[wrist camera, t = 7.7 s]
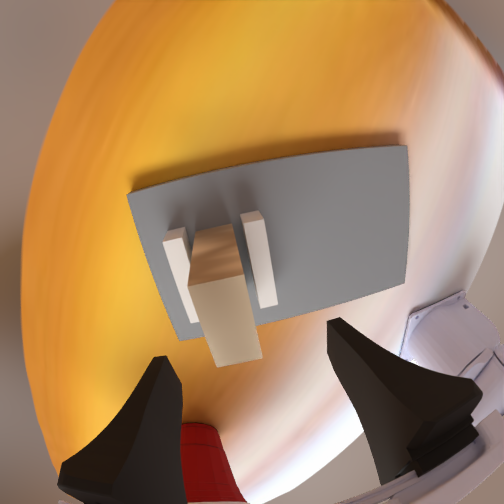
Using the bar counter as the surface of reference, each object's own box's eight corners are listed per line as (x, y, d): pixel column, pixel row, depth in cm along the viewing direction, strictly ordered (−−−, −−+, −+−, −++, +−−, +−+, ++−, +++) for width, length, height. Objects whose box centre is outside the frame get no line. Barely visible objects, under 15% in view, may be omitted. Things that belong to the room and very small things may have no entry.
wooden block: (231, 223, 18) (244, 274, 11) (246, 289, 20) (263, 358, 13) (195, 231, 17) (186, 286, 11) (213, 296, 19) (217, 367, 13)
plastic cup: (217, 453, 32) (225, 522, 21) (145, 438, 28) (141, 514, 17) (256, 422, 29) (274, 507, 18) (170, 402, 25) (167, 502, 14)
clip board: (399, 144, 18) (424, 148, 15) (398, 278, 23) (416, 294, 20) (130, 191, 17) (116, 202, 14) (180, 333, 22) (177, 358, 19)
